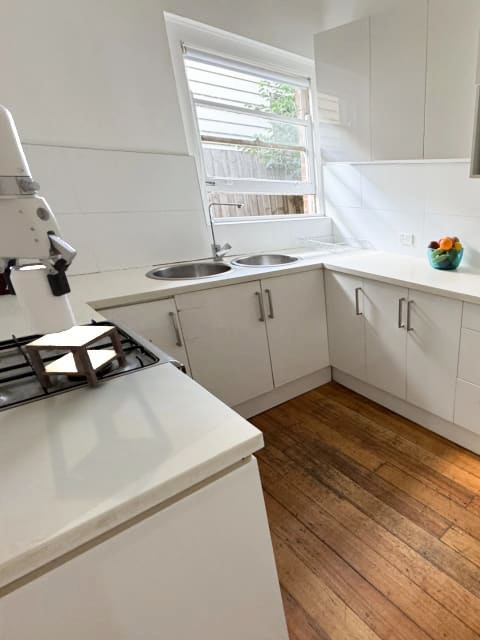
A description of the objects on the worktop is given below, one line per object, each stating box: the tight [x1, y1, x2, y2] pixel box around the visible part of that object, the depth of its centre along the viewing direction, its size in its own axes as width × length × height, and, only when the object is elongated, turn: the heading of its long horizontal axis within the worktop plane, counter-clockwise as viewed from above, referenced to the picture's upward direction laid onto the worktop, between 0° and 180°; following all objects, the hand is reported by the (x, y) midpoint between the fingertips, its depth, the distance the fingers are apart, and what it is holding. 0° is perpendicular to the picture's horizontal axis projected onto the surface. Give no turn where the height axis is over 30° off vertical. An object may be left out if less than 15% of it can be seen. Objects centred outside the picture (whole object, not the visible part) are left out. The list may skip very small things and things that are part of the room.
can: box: [10, 262, 77, 336], centre depth 69 cm, size 6×6×12 cm
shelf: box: [24, 325, 128, 388], centre depth 85 cm, size 11×11×10 cm
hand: (41, 292), depth 69 cm, fingers closed on can, 6 cm apart
